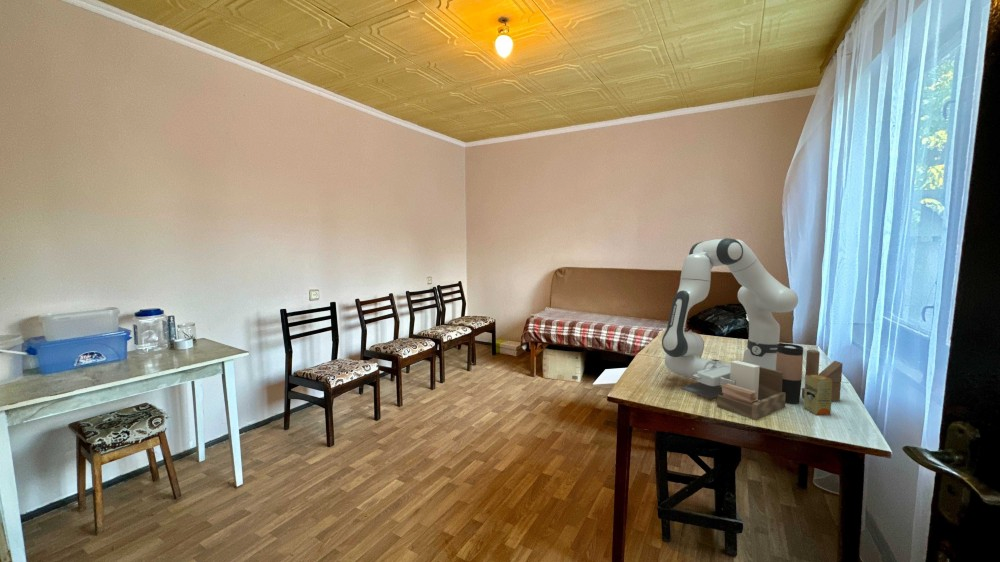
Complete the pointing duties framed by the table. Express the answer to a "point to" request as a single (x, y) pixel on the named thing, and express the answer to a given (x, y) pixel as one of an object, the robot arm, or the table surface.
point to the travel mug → (790, 370)
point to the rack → (759, 397)
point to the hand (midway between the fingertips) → (742, 381)
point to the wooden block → (824, 372)
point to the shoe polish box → (818, 394)
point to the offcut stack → (739, 394)
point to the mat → (704, 389)
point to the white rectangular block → (745, 375)
